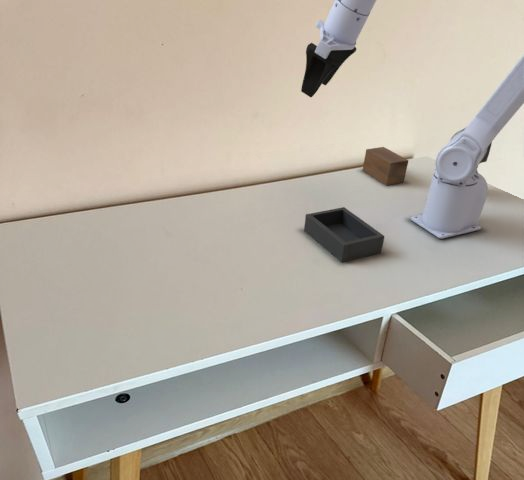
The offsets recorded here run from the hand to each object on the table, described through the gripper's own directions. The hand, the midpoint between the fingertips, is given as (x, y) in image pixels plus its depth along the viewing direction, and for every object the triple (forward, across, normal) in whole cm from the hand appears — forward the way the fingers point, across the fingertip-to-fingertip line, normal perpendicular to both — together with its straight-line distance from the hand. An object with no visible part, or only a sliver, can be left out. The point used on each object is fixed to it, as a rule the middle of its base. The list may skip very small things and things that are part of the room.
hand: (314, 87), depth 95 cm
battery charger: (+7, -14, +33) cm, 36 cm away
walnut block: (+13, -14, +18) cm, 26 cm away
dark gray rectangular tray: (+12, +18, +18) cm, 28 cm away
